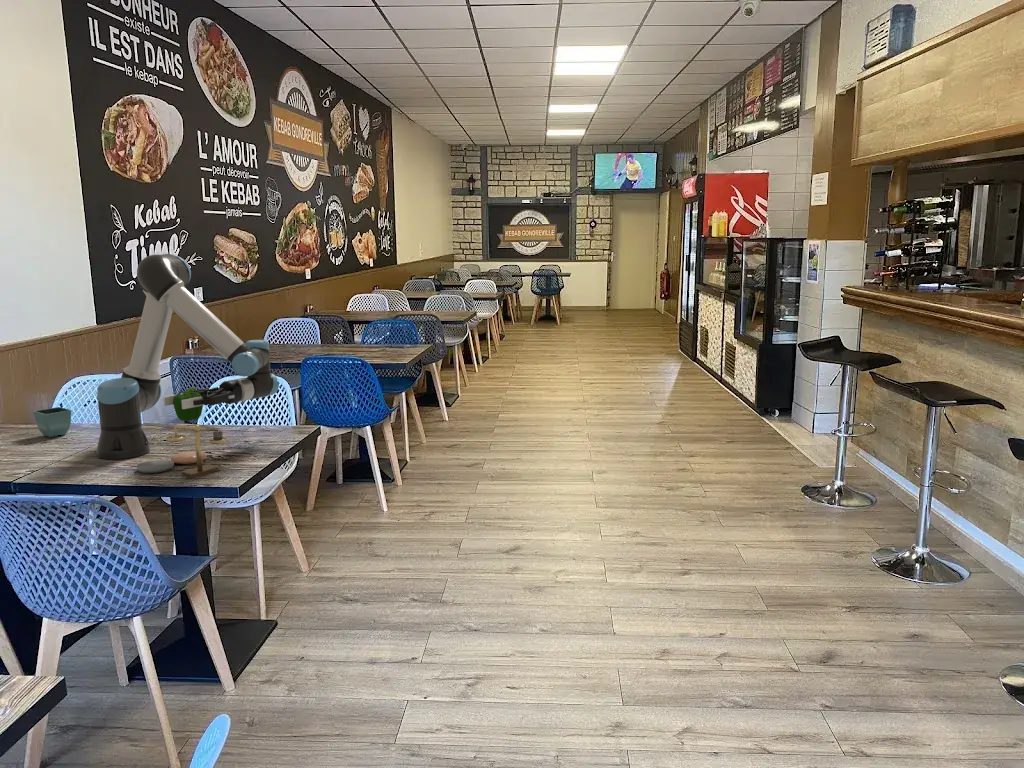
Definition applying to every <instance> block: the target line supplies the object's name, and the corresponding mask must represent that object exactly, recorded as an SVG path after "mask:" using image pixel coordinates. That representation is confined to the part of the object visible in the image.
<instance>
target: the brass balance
mask: <svg viewBox="0 0 1024 768" xmlns="http://www.w3.org/2000/svg"><path fill="white" fill-rule="evenodd" d="M173 428H174V429H173V430H174V435H168V436H166V442H168V443H169V442H171V443H173V442H174V443H177V442H183V441H185V440H187V436H186V435H183V434H178V432H177V431H178V430H190V431H193V432H194V440H195V443H194V444H195V451H196V457H197V462H196V467H194V468H193V467H192V468H189V469H185V470H182V471H180V475H181V477H184V478H185V477H186V478H189V479H195V478H198V477H202V476H206V475H209V474H212V473H215V472H219V471H220V467H219V466H217V465H213V464H210V463H207V464H203V460H202V454H201V452H202V442H201V431H203V432H207V431H208V432H212V435H213V437H212V438H210V439H209V440H208V441H209V443H210V444H212V445H220V444H224V443H227V442H228V438H227V437H223V431H222V430H220V429H219V428H218V427H206V426H201V425H200V424H194V425H180V424H179V425H178V424H175V425H174V427H173Z"/></svg>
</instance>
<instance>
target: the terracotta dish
mask: <svg viewBox="0 0 1024 768" xmlns="http://www.w3.org/2000/svg"><path fill="white" fill-rule="evenodd" d="M201 454H202V461H205V460H206V459H207V453H206V452H204V451H201ZM170 460H171V461H173V462H174V464H179V465H190V464H191V465H192V464H197V457H196V450H195V451H185V452H179V453H176V454H174V455H172V456H171V457H170Z"/></svg>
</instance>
